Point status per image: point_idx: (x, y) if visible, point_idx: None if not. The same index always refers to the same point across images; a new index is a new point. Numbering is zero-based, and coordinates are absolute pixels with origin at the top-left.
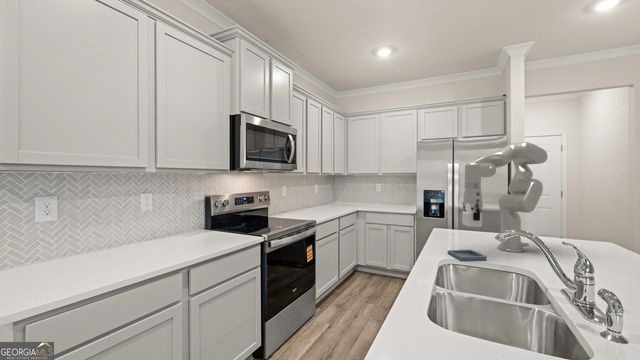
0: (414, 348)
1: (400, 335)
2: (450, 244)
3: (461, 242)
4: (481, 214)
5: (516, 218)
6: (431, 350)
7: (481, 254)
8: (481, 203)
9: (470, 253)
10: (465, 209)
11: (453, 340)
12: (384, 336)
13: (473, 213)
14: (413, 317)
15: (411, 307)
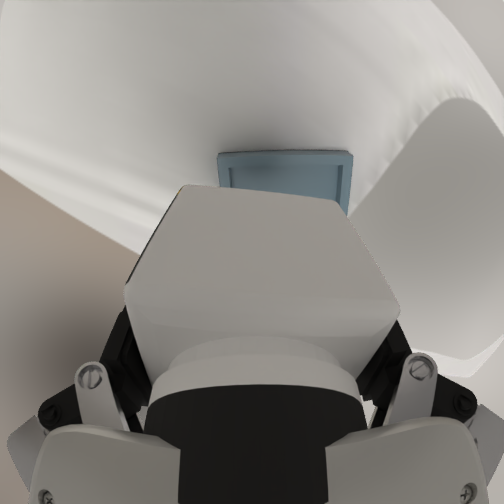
0: (481, 363)
1: (469, 369)
2: (58, 182)
3: (19, 120)
4: (395, 307)
5: None
6: (488, 356)
7: (315, 155)
8: (476, 487)
9: (241, 168)
10: (141, 420)
11: (493, 345)
12: (464, 376)
13: (360, 392)
14: (463, 364)
15: (452, 366)
